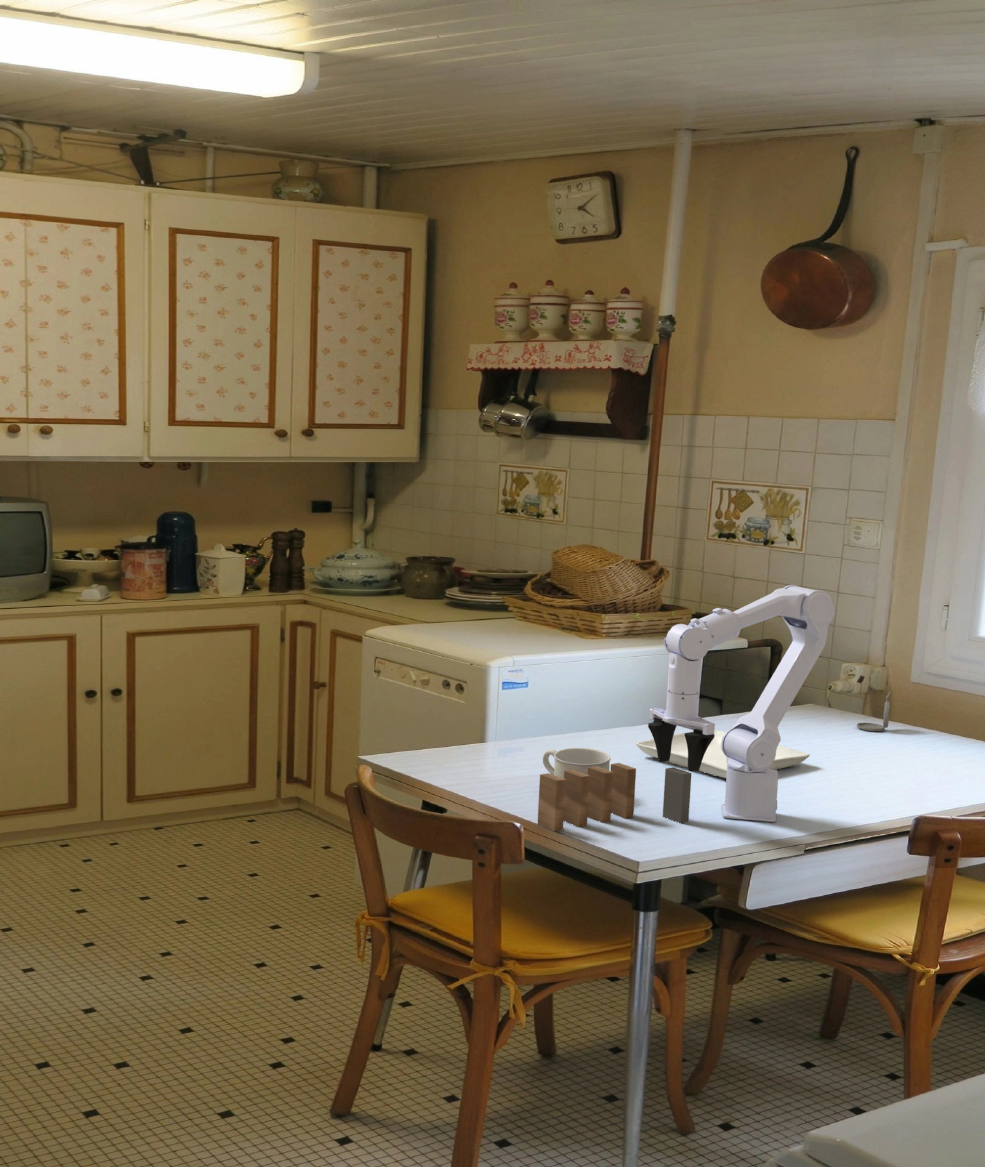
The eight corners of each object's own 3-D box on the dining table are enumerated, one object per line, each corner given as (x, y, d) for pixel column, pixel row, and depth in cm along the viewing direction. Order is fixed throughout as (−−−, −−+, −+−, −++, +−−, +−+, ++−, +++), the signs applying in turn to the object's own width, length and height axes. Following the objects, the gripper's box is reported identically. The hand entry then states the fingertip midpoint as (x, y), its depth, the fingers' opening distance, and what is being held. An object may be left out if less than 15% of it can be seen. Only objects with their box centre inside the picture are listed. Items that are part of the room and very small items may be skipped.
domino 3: (593, 814, 230) (596, 766, 229) (610, 821, 226) (613, 772, 226) (585, 816, 229) (587, 767, 228) (602, 822, 225) (604, 773, 224)
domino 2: (570, 818, 227) (572, 769, 226) (587, 825, 223) (589, 775, 222) (561, 820, 226) (564, 771, 225) (578, 827, 222) (581, 777, 221)
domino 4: (616, 810, 233) (619, 762, 232) (633, 817, 230) (636, 768, 229) (608, 812, 232) (610, 764, 231) (625, 818, 229) (627, 769, 228)
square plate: (632, 758, 276) (633, 741, 275) (712, 743, 293) (713, 727, 293) (731, 787, 255) (732, 768, 255) (811, 769, 273) (812, 752, 273)
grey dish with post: (851, 726, 318) (854, 687, 317) (881, 726, 320) (884, 687, 319) (868, 734, 310) (872, 693, 309) (899, 733, 312) (902, 693, 311)
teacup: (619, 797, 243) (622, 756, 242) (582, 806, 235) (584, 764, 235) (566, 781, 253) (568, 741, 252) (528, 789, 245) (530, 749, 244)
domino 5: (670, 815, 232) (673, 767, 231) (688, 822, 228) (691, 773, 227) (662, 817, 231) (665, 768, 230) (680, 823, 227) (683, 774, 226)
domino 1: (546, 823, 224) (548, 773, 223) (562, 830, 220) (565, 779, 219) (537, 824, 222) (540, 774, 221) (553, 831, 219) (556, 780, 218)
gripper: (639, 686, 230) (634, 759, 232) (696, 701, 219) (691, 778, 220) (667, 683, 235) (662, 755, 236) (724, 697, 223) (720, 773, 224)
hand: (678, 766), depth 228 cm, fingers open, 7 cm apart
